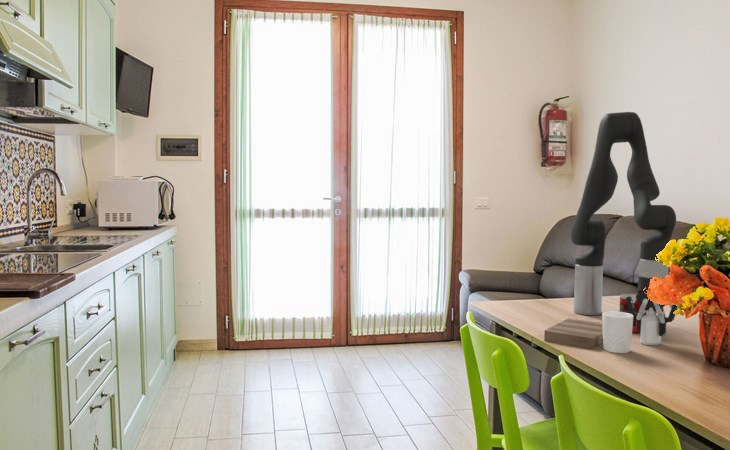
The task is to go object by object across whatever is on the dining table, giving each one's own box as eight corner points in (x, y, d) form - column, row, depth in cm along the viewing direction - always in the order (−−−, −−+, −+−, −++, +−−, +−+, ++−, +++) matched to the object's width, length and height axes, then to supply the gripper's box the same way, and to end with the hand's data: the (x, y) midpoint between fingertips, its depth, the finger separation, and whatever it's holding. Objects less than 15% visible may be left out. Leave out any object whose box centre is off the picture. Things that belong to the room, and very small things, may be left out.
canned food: (644, 328, 181) (645, 294, 180) (647, 334, 174) (649, 299, 173) (617, 326, 184) (619, 292, 183) (620, 332, 176) (621, 297, 175)
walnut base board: (567, 327, 182) (568, 318, 182) (614, 334, 173) (614, 324, 173) (544, 340, 167) (544, 330, 166) (593, 349, 158) (594, 338, 158)
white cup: (596, 345, 161) (597, 311, 160) (624, 346, 161) (626, 311, 160) (607, 354, 153) (608, 317, 153) (637, 354, 153) (638, 317, 152)
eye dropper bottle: (663, 346, 161) (664, 304, 160) (641, 344, 162) (642, 303, 161) (659, 342, 165) (661, 301, 164) (638, 340, 166) (639, 300, 166)
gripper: (684, 276, 161) (681, 335, 162) (629, 271, 170) (627, 327, 171) (678, 279, 155) (676, 341, 156) (622, 274, 164) (620, 332, 165)
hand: (650, 333), depth 163 cm, fingers closed on eye dropper bottle, 4 cm apart
